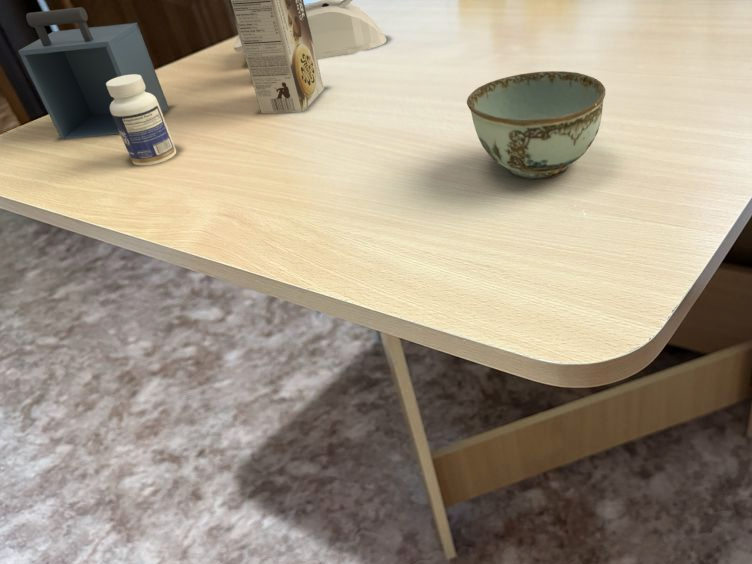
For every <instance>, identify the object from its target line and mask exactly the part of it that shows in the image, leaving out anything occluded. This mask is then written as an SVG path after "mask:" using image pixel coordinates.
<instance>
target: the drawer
mask: <svg viewBox="0 0 752 564" xmlns="http://www.w3.org/2000/svg"><path fill="white" fill-rule="evenodd" d="M25 18H26V21H27V24H28V25H29V26H30V28H34V29H35V32H36V34H37V36H38V39H37V40H34V41H33V42H31V43H30V44H28V45H26V46H24V47H23V48H21V49H19V50H17V51H18V54H19V56H20V58H21V60H22V62H23V64H24V67H25V68H26V70H27V73H28V74H29V76H30V79H31V81H32V83H33V85H34V87H35V89H36V91H37V93H38V95H39V97H40V100H41V101H42V103H43V105H44V108H45V109H46V111H47V113H48V115H49V117H50V119H51V121H52V124H53V126H54V128H55V130H56V133H57V134H58V136H59V138H60V140H71V139H72V140H73V139H83V138H94V137H95V138H96V137H104V136H114V135H117V136H118V135H120V133H119V130H118V128H117V126H116V123H115V121H114V119H113V116H112V114H111V111H110V104H111V102H112V101H113V100H114V97H111V95H110V94H109V91H108V88H107V86H106V83H107V82H108V81H109V80H111V79H114V78H117V77H120V76H124V75H132V74H137V75H141V77H142V79H143V82H144V84H145V87H146V89H145V92H147V93H151V94H152V95H154V96H155V97H156V99H157V101H158V104H159V107H160V109H161V112H162V114H163V115H164V113H166V112H167V111H168V110H169V109H170V107H169V105H168V101H167V98H166V96H165V94H164V91H163V89H162V86H161V83H160V80H159V78H158V75H157V72H156V69H155V67H154V63H153V61H152V59H151V56H150V54H149V50H148V48H147V46H146V42H145V41H144V37H143V35H142V33H141V30H140V27H139V24H138V22H129V23H121V24H109V25H103V26H102V25H101V26H93V27H89V26H88V24H87V22H88V19H89V15H88V12H87V11H86V9H85V8H84V7H82V6H81V7H71V8H62V9H54V10H53V9H52V10H44V11H35V12H28V13H26V16H25ZM67 24H68V25H69V24H77V27H78V28H74V29H73V28H72V29H63V30H55V31H52V32H50V33H48V31H47V30H46V28H45V27H49V26H58V25H67Z"/></svg>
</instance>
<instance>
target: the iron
mask: <svg viewBox="0 0 752 564" xmlns="http://www.w3.org/2000/svg"><path fill="white" fill-rule="evenodd" d="M352 1H353V0H318V1H314V2H313V1H312V2H310V3H306V4H304V6H305V10H306V15H307V19H308V23H309V27H310V31H311V35H312V40H313V45H314V49H315V53H316V57H317V59H322V58H329V57H336V56H343V55H344V56H345V55H350V54H354V53H358V52H363V51H367V50H372V49H375V48H376V47H380V46H382V45H384V44H385V43H386V42H387V38H386V36H385V35H384V33H383V31H382V29H381V28H380V27H379V26H378V24H377V23H376V22H375V20H374V19H373V18H371V16H369V14H368V13H367V12H365V10H363V9H362V8H360V7H359V6H357V5H355V4H353V3H351V2H352ZM233 50H234V51H235V52H236V53H240V54H244V51H243V48H242V44H241V41H240V38H239V35H238V36H237V39H236V40H235V44H234V46H233Z"/></svg>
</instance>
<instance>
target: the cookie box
mask: <svg viewBox="0 0 752 564" xmlns="http://www.w3.org/2000/svg"><path fill="white" fill-rule="evenodd" d="M228 3H229V6H230V10H231V13H232V17H233V20H234V24H235V27H236V30H237V34H238V36H239V38H240V41H241V44H242V48H243V51H244V53H243V54H244V55H243V56H244V58H245V62H246V65H247V67H248V73H249V75H250V79H251V83H252V86H253V89H254V93H255V96H256V99H257V102H258V105H259V108H260V113H261V114H283V113H285V114H286V113H302V112H304V111H305V110H306V109H307V108H308V107H309V106H310V105H311V104H312V103H313V102H314V100H316V98H317V97H319V95H320V94H321V93H322V92H323V91H324V90H325V87H324V83H323V79H322V75H321V70H320V66H319V62H318V58H317V57H316V53H315V49H314V45H313V40H312V35H311V31H310V27H309V23H308V19H307V15H306V10H305V6H304V5H305V1H304V0H228Z"/></svg>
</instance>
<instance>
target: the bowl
mask: <svg viewBox="0 0 752 564" xmlns="http://www.w3.org/2000/svg"><path fill="white" fill-rule="evenodd" d="M605 96H606V88H605V85H604V84H603V83H602V82H601V81H600V80H599V79H597V78H595V77H593V76H590V75H587V74H584V73H580V72H576V71H575V72H573V71H563V70H560V71H558V70H551V71H534V72H527V73H520V74H514V75H511V76H506V77H503V78H498V79H495V80H492V81H489V82H487V83H485V84H483V85H481V86H479V87H477V88H475V89H474V90H473V91H472V92H471V93H470V94H469V95H468V97H467V99H466V105H467V108H468V109H469V111H470V113H471V119H472V122H473V126H474V130H475V132H476V136H477V139H478V140H479V142H480V144H481V146H482V147H483V149H484V151H485V152H486V153H487V154H488V156H489V157H490V158H491V159H492V160H493V161H495V162H496V163H497V164H498V165H500V166H501V167H504V168H505V169H506V170H507V169H508V170H509V172H510V174H512V175H513V176H515V177H517V178H520V179H525V180H534V181H535V180H545V179H550V178H554V177H557V176H559V175H561V174H563V173H565V172H566V171H567V170H568V168H569V166H570V165H572V164H573V163H575V162H576V161H578V160H579V159H580V158H582V157H583V155H584V154H585V153H586V152H587V151H588V150H589V148H590V147H591V145H592V144H593V142H594V140H595V139H596V137H597V135H598V133H599V129H600V126H601V122H602V117H603V107H604V99H605V98H606V97H605Z"/></svg>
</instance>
